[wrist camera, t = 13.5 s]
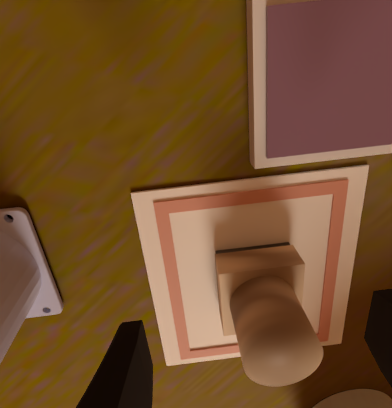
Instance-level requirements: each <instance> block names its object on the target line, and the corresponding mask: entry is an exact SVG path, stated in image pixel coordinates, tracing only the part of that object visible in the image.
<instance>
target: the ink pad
mask: <svg viewBox="0 0 392 408" xmlns="http://www.w3.org/2000/svg"><path fill="white" fill-rule="evenodd" d="M246 15H247V61H248V107H249V153H250V163H251V164H252V166H253V167H254V169H259V168H267V167H276V166H284V165H293V164H302V163H310V162H319V161H327V160H336V159H345V158H353V157H362V156H370V155H379V154H387V153H392V0H246Z"/></svg>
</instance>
